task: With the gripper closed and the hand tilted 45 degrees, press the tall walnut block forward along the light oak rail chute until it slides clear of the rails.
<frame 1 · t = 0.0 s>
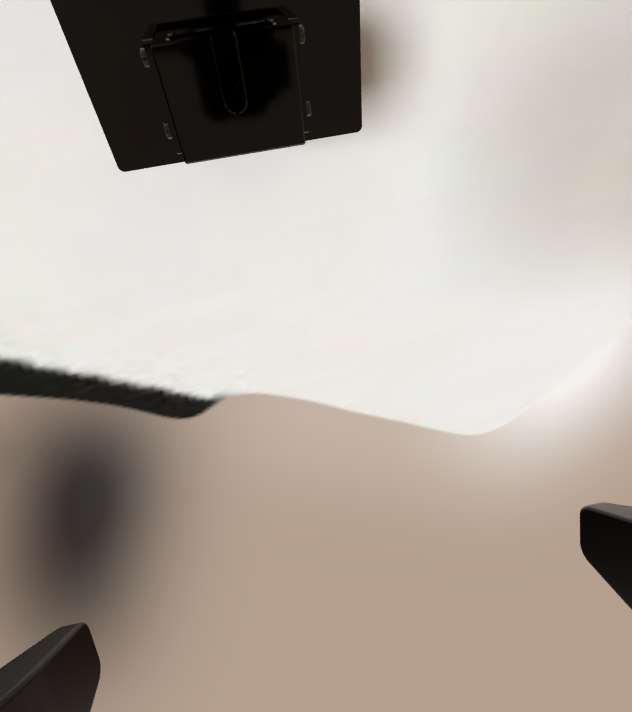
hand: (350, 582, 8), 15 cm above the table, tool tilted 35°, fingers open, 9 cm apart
black blocky device: (226, 62, 15), on the table
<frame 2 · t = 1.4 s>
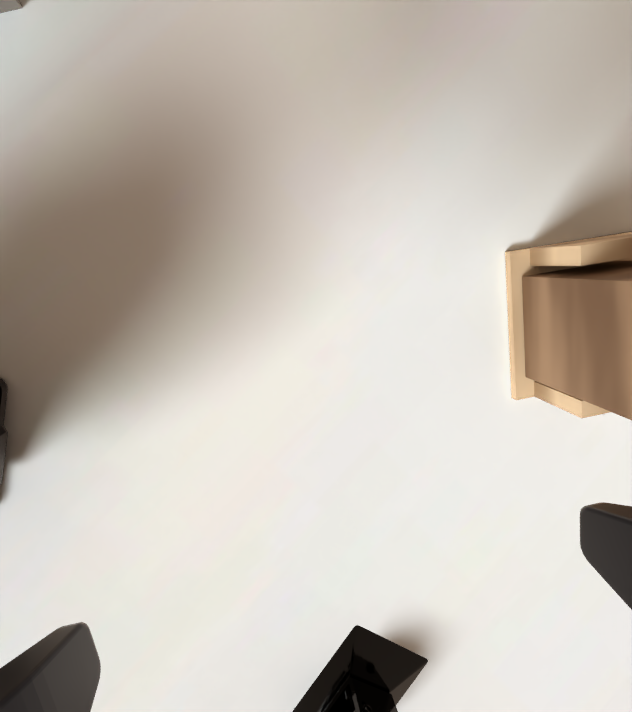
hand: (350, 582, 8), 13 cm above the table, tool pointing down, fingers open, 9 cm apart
black blocky device: (346, 691, 25), on the table
chute: (590, 312, 22), on the table
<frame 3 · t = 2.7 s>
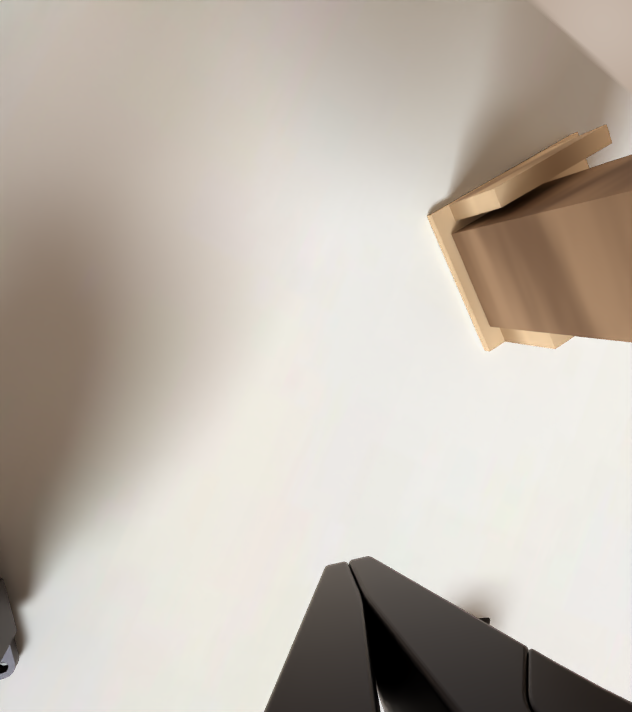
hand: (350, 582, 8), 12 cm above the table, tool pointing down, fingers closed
walnut block: (628, 243, 15), point 6 cm above the table, slide at 0.0 cm
chute: (527, 243, 22), on the table
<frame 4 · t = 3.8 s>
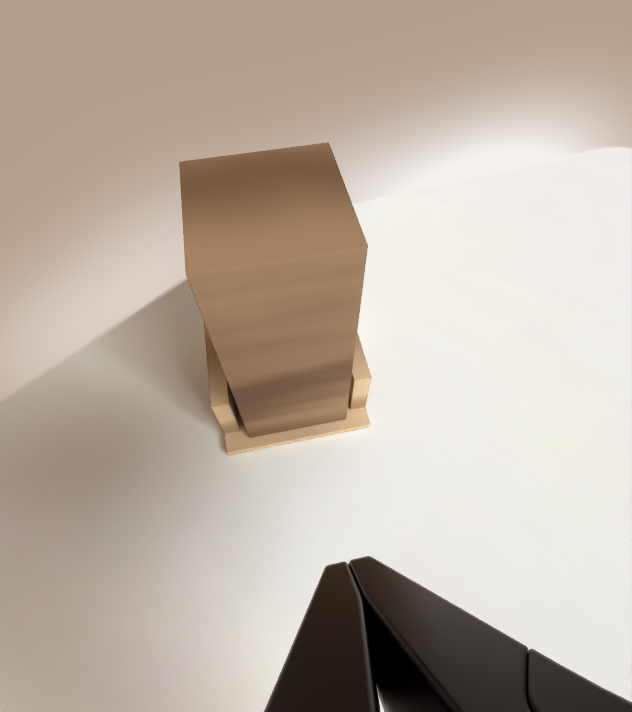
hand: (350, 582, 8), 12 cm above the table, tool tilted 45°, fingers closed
walnut block: (281, 319, 18), point 6 cm above the table, slide at 0.0 cm
chute: (285, 367, 24), on the table
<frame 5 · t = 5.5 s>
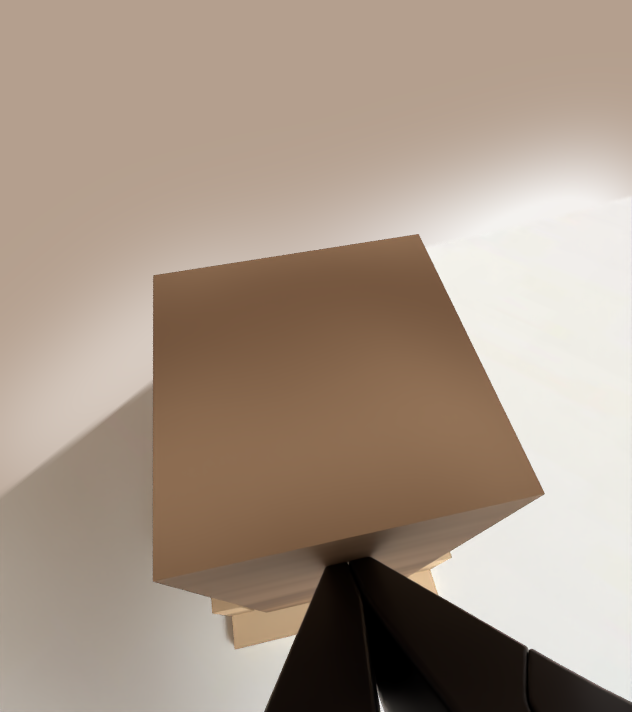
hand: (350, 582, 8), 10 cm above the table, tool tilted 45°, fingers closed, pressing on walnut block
walnut block: (319, 480, 12), point 6 cm above the table, slide at 0.4 cm, touching gripper
chute: (314, 498, 18), on the table
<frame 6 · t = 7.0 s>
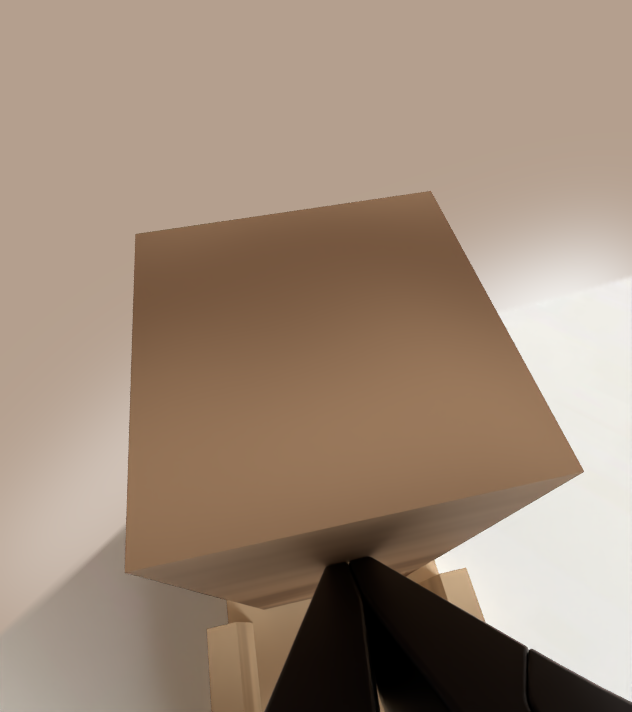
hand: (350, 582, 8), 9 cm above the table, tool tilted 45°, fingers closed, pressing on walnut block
walnut block: (320, 468, 11), point 6 cm above the table, slide at 6.8 cm, touching gripper
chute: (354, 691, 14), on the table
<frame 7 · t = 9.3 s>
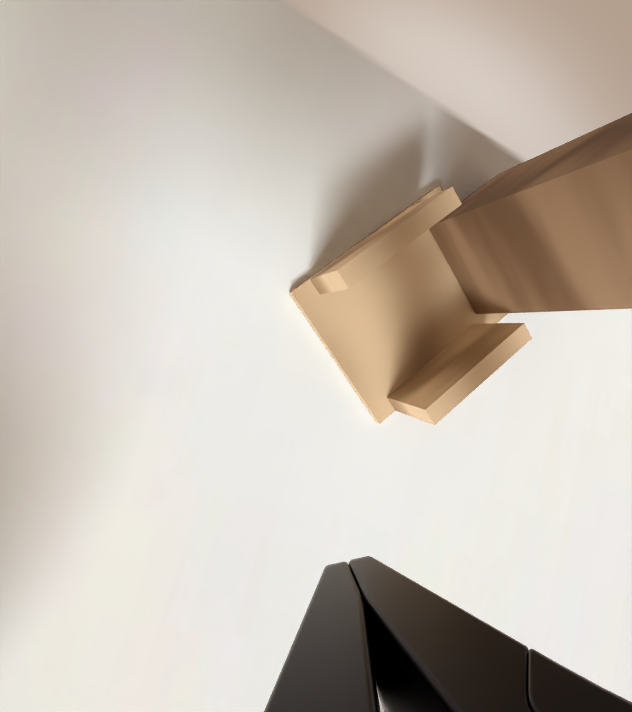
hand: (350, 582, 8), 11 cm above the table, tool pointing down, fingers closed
walnut block: (603, 214, 16), point 7 cm above the table, slide at 6.8 cm
chute: (405, 304, 21), on the table
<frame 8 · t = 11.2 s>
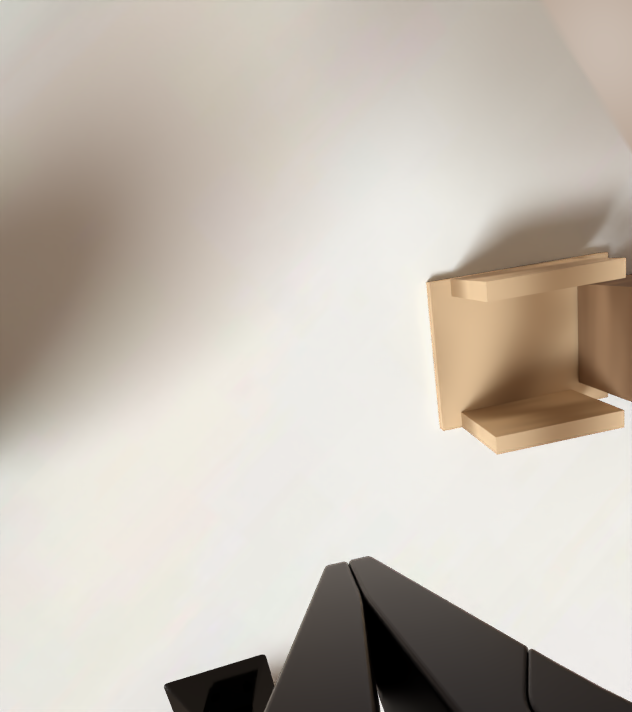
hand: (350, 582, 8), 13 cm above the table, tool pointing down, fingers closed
chute: (519, 341, 21), on the table
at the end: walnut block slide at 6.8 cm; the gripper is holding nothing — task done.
